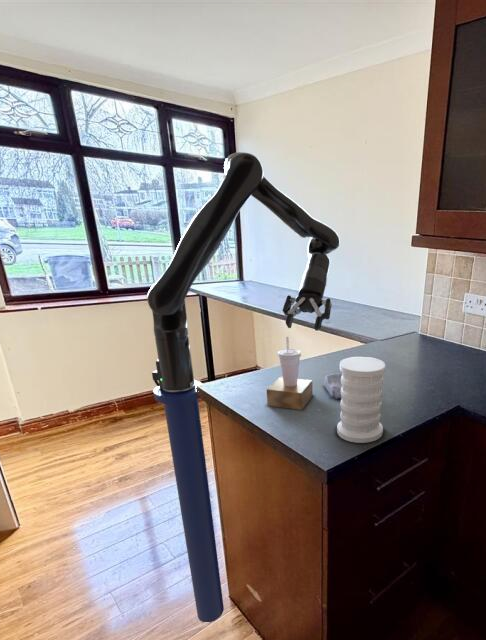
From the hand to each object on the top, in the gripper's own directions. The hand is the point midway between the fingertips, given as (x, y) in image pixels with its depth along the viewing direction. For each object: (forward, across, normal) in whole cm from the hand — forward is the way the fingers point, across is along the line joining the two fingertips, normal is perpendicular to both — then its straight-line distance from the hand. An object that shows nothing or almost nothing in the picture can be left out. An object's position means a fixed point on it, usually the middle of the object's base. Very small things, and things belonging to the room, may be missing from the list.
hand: (302, 328), depth 120 cm
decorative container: (+30, +23, -4) cm, 38 cm away
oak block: (+21, 0, +5) cm, 22 cm away
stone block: (+14, +13, +13) cm, 23 cm away
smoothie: (+18, 0, +2) cm, 18 cm away
